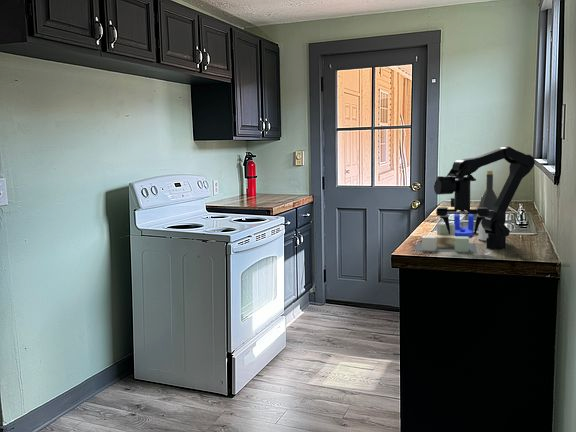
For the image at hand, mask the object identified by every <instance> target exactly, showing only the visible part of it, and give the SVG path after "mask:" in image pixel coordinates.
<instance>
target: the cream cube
mask: <svg viewBox="0 0 576 432" xmlns="http://www.w3.org/2000/svg"><path fill="white" fill-rule="evenodd" d="M436 237H437V235H423V236H422V239H421V242H422V251H421V252H426V251H436Z"/></svg>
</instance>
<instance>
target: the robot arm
mask: <svg viewBox="0 0 576 432" xmlns="http://www.w3.org/2000/svg"><path fill="white" fill-rule="evenodd" d="M534 158H535V157H534V156H532V155H531V154H525V153H523V152H521V151H519V150H516V149H514V148H513V147H510V146H501V147H500V148H497V149H494V150H491V151H489V152H485V153H484V154H481V155H478V156H475V157H469V158H462V159H457V160H454V161H453V163H452V167H451V169H450V171H449V172H448V173H447V175H446V176H441V175H440V176H439V175H437V176H436V179H435V182H434V185H433V190H434V193H435V194H436V195H438V196H439V195H452V194H454V198H453V197H451V198H450V208H448V207H446V206H437V208H436V216H437V217H439V218H440V219H442V220H443V222H444V224H446V227H447V230H448V233H449V234H450V226H449V224H450V219H449V215H455V214H460V215H469V214H474V215H475V222H474V232H473V235H476V234H477V231H478V230H479V224H480V222H481V224H482V227H483V228H484V230H485V233H486V234H488V238H486V242H485V248H486V250H487V249H489V250H498V251H499V250H506V247H507V246H506V245H507V243H506V242H507V241H506V240H507V237H509V236H510V233H511V229H509V228H508V227H507V226H506V221H507V216H506V215H507V214H506V212H507V210H508V208H509V206H510V204H511V202H512V201H513V198H514V196H515V194H516V192H517V190H518V188H519V186H520V184H521V182H522V180H523V178H525V177H526V176H527V175H529V174H530V173H531V172H532V170H533V168H534V167H535V164H536V162H535V159H534ZM501 160H504V161H506V162H507V163H508V164H509V168H508V169H509V174H508V177H507V179H506V181H505V183H504V185H503V186H502V189H501V191H500V193H499V195H498V196H497V201H496V203H495V205H494V207H493V208H492V209H491V210H489V209H488V208H487V207H479V206H477V208H475V209H474V208H473V209H471V182H476V181H477V179H476V178H475V177H474V176H473V173H475V172H476V171H478V170H479V169H480V168H482V167H484V166H488V165H490V164H492V163H496V162H498V161H501ZM451 208H452V209H451ZM481 220H482V221H481Z"/></svg>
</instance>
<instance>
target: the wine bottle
mask: <svg viewBox="0 0 576 432" xmlns="http://www.w3.org/2000/svg"><path fill="white" fill-rule="evenodd" d="M493 188H494V174H493V170H487V172H486V189H485V191H484V193H483V195H482V197H481V198H480V202H479V205H478V207H487V208H488V209H489V210H491V209H492V208H493V207H494V205H495V203H496V201H497V199H498V196H497V195H496V193H495V190H494V189H493ZM481 221H482V220H481ZM486 238H488V234H486V233H485V230H484V228H483V227H482V224H481V222H480V224H479V226H478V241H480V242H484V243H486Z"/></svg>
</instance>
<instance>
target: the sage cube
mask: <svg viewBox="0 0 576 432" xmlns="http://www.w3.org/2000/svg"><path fill="white" fill-rule="evenodd" d="M469 239H470V237H465V236H455V251H456V252H455V253H460V252H469V243H470V242H469V241H470V240H469Z"/></svg>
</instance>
